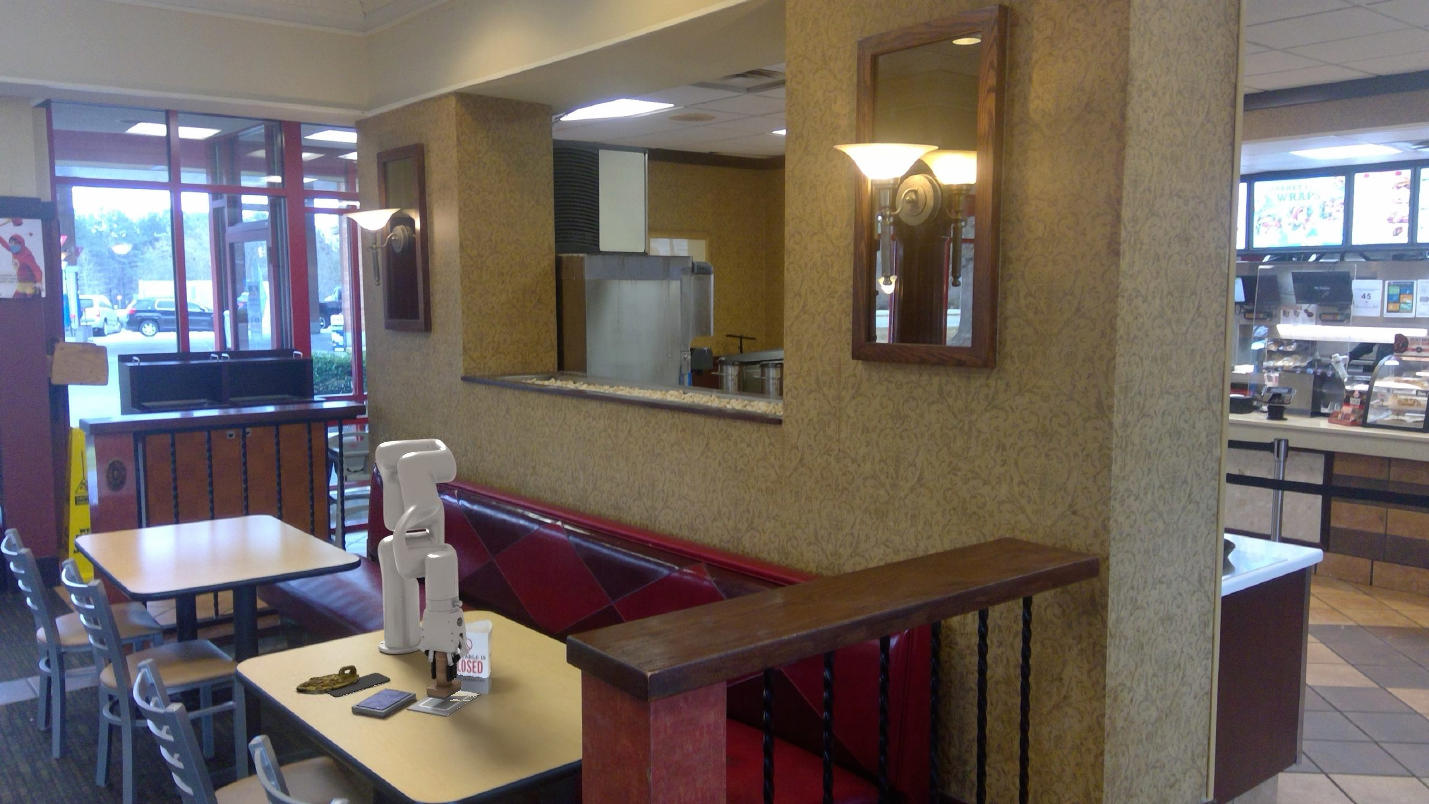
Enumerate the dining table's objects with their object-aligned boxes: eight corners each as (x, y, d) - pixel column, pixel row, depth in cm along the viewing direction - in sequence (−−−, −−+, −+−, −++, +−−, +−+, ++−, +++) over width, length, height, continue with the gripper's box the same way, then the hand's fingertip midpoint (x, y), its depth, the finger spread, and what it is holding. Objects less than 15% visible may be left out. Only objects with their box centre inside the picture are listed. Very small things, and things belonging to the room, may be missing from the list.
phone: (321, 689, 248) (376, 671, 259) (321, 692, 248) (376, 674, 259) (336, 697, 243) (392, 678, 254) (336, 700, 243) (392, 682, 254)
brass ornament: (301, 703, 243) (364, 688, 252) (301, 685, 242) (364, 671, 251) (292, 686, 251) (353, 673, 259) (291, 669, 250) (353, 656, 258)
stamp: (444, 686, 245) (443, 641, 244) (462, 689, 243) (460, 643, 242) (426, 697, 238) (425, 650, 237) (444, 700, 237) (443, 653, 235)
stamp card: (443, 688, 250) (443, 686, 249) (481, 694, 246) (480, 692, 246) (407, 709, 236) (407, 708, 236) (446, 716, 233) (446, 715, 233)
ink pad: (385, 693, 246) (385, 687, 246) (416, 698, 243) (415, 692, 243) (351, 712, 235) (351, 705, 235) (383, 718, 232) (383, 711, 231)
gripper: (481, 602, 239) (482, 677, 241) (423, 595, 245) (425, 668, 247) (462, 611, 232) (464, 688, 234) (403, 604, 238) (405, 679, 240)
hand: (444, 677), depth 240 cm, fingers closed on stamp, 3 cm apart
